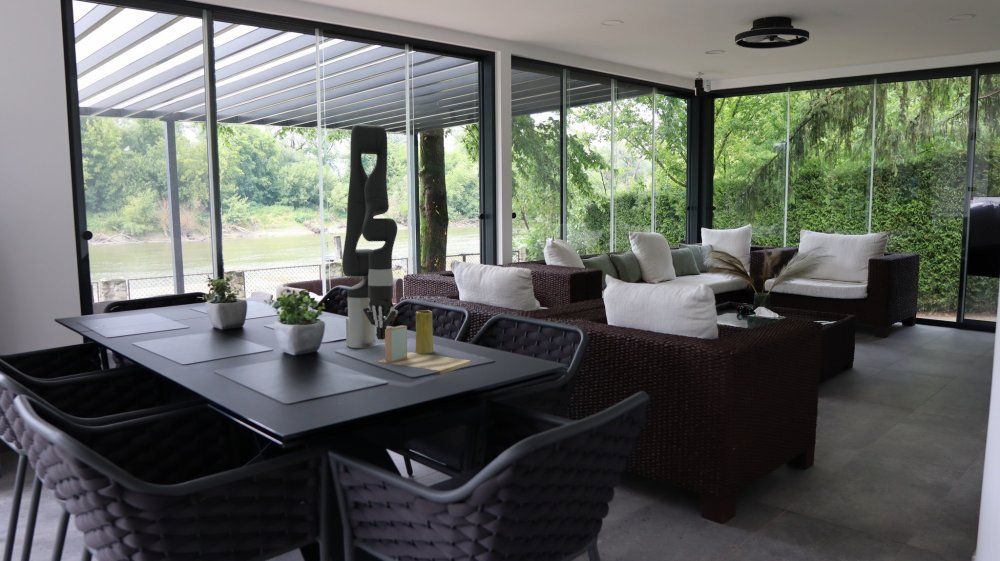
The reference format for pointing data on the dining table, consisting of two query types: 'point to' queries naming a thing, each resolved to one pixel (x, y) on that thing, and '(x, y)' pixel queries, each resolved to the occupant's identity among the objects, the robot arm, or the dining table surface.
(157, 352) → the dining table surface
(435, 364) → the board
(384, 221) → the robot arm
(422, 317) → the vase
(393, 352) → the tile
